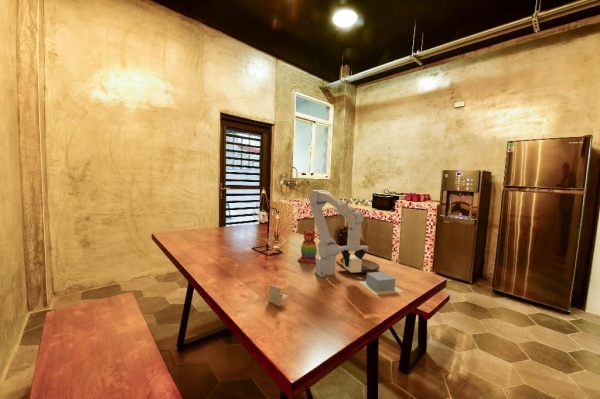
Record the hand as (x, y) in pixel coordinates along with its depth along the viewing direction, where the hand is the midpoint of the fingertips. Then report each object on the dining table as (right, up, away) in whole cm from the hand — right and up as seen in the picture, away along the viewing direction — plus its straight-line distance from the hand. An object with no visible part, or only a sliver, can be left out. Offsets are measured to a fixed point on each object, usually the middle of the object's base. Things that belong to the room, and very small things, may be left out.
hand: (352, 265), depth 121 cm
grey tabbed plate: (-34, -10, -20) cm, 41 cm away
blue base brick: (+12, -9, -3) cm, 15 cm away
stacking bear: (-19, -6, +32) cm, 38 cm away
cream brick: (0, -2, 0) cm, 2 cm away
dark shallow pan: (+8, -8, +21) cm, 24 cm away
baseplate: (+12, -10, -3) cm, 16 cm away
